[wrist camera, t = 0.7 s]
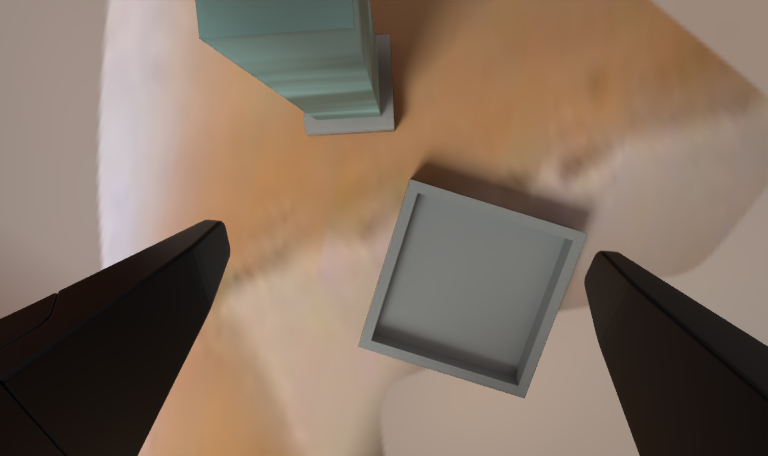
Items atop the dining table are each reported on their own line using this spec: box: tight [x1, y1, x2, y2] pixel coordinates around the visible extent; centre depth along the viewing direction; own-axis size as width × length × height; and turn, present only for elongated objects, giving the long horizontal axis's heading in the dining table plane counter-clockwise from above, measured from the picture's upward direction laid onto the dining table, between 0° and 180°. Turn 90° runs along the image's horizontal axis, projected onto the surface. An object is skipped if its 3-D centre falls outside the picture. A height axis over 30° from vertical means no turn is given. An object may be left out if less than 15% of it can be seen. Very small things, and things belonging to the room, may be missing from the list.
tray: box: [358, 179, 587, 398], centre depth 23 cm, size 10×10×2 cm
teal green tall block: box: [195, 0, 395, 136], centre depth 16 cm, size 5×5×14 cm
